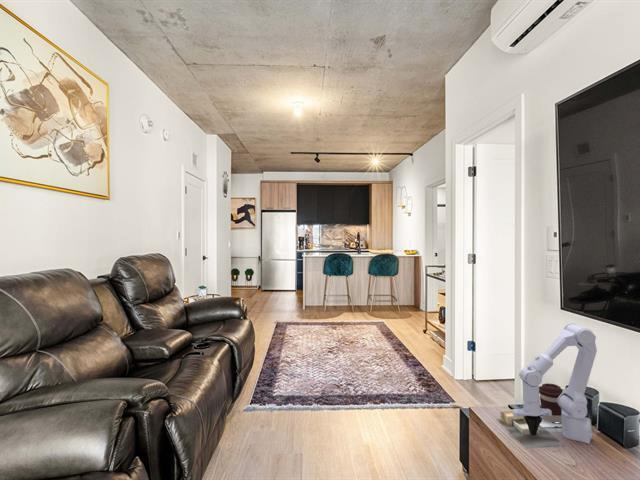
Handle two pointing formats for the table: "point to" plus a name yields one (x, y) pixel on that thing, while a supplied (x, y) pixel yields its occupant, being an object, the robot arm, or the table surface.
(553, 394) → the coffee cup
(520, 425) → the tray shell
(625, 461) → the table surface
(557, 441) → the overhang board
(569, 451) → the table surface
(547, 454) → the table surface
